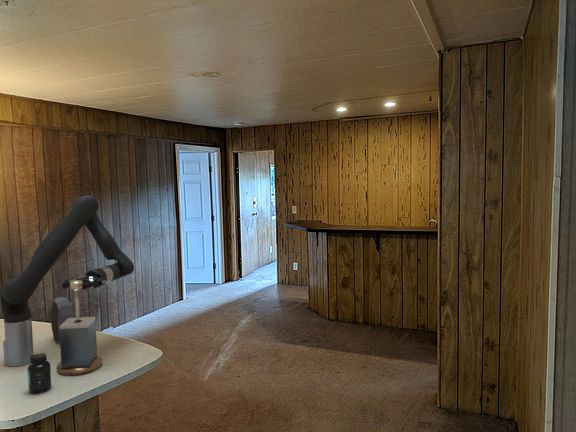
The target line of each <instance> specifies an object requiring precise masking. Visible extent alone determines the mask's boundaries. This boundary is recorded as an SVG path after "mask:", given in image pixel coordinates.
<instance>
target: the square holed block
mask: <svg viewBox="0 0 576 432" xmlns="http://www.w3.org/2000/svg"><path fill="white" fill-rule="evenodd" d="M79 317H80V316H79ZM96 324H97V323H96V316H82V317H80V322H76V317H75V318H68V319H67V320H66V321H65V322H64V323H63V324H61V325H60V326H59V330H60V342H59V349H60V362H59V363H58V364H57V366H56V373H57V374H58V375H60V376H63V377H77V376H83V375H84V376H85V375H88V374H90V373H93V372H96V371H97V370H99V369H100V368H101V367H102V366H103V363H104V361H103V360H104V359H103V358H102V356H100V355H98V343H97V340H98V339H97V325H96Z"/></svg>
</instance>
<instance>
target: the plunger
mask: <svg viewBox="0 0 576 432" xmlns="http://www.w3.org/2000/svg"><path fill="white" fill-rule="evenodd" d="M82 284H83V282H82V280H74V281H70V287H69V291H74V301H75V304H74V305H75V318H76V322H80V302H79V301H80V300H79V298H80V297H79V296H80V295H79V291H81V290H83V289H82Z"/></svg>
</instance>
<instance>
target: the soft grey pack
mask: <svg viewBox="0 0 576 432" xmlns="http://www.w3.org/2000/svg"><path fill="white" fill-rule="evenodd" d="M68 318H76V314H75V311H74V308H73V305H72V303H71V302H70V300H68V298H67V297H66V296H65V297H63V296H58V297H56V299H55V298H54V299H52V301H51V305H50V325H51V332H52V336H53V340H54V341H55V342H57V343H60V330H59V326H60V325H61V324H63V323H64V322H65V321H66V320H67V319H68Z"/></svg>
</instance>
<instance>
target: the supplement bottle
mask: <svg viewBox="0 0 576 432" xmlns="http://www.w3.org/2000/svg"><path fill="white" fill-rule="evenodd" d="M51 370H52V369H51V362H49V361H48V359H47V354H46V353H44V352H41V353H40V352H39V353H36V354H35V353H34V355H32V356H31V357H30V363H29V365H28V366H27V384H28V385H27V386H28V392H29V393H30V394H32V395H33V394H34V395H37V394H43V393H45V392H47V391H49V390H50V389H51V388H52V376H51V375H52V371H51Z"/></svg>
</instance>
